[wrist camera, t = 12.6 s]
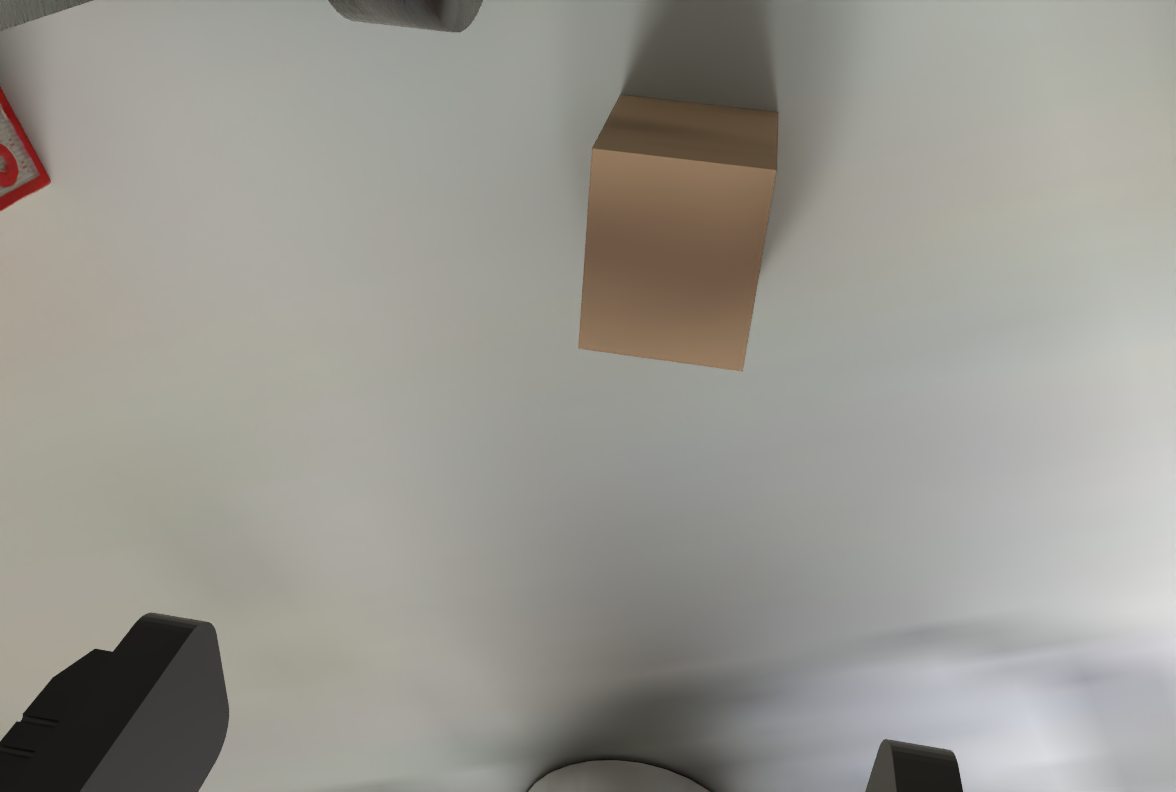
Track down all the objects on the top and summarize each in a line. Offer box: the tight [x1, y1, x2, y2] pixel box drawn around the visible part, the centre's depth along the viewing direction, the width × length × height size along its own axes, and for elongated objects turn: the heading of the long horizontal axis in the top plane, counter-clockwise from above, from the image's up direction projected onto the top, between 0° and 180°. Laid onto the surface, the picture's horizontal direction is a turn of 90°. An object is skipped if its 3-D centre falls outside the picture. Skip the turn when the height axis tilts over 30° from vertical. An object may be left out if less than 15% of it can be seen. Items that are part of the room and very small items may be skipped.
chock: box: [579, 95, 778, 371], centre depth 25 cm, size 5×4×4 cm
